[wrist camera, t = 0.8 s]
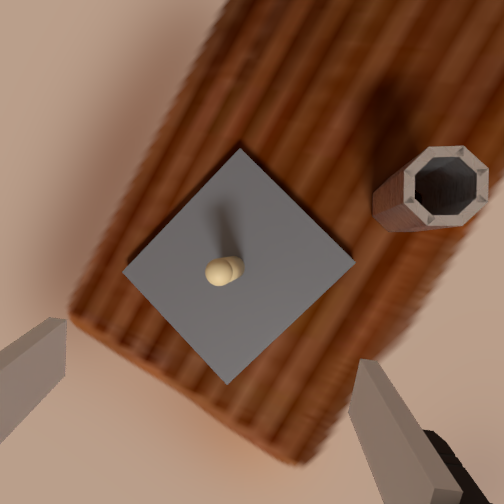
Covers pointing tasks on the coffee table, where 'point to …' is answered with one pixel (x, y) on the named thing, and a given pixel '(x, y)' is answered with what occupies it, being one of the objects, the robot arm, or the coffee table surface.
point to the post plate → (267, 258)
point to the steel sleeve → (432, 191)
